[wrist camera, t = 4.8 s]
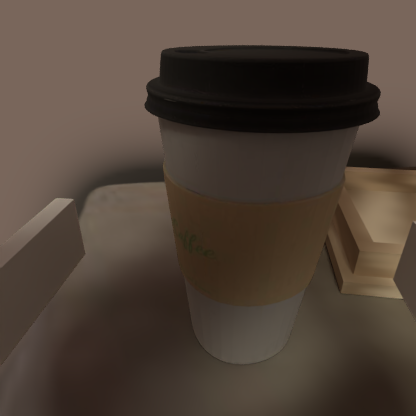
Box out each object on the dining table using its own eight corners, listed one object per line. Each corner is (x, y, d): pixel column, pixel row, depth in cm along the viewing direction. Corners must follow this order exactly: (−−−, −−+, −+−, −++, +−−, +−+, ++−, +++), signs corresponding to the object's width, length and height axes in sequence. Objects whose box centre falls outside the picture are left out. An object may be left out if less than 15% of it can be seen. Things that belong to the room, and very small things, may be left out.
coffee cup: (131, 323, 20) (91, 49, 13) (232, 256, 26) (243, 42, 19) (257, 442, 15) (308, 68, 7) (350, 321, 20) (428, 50, 13)
